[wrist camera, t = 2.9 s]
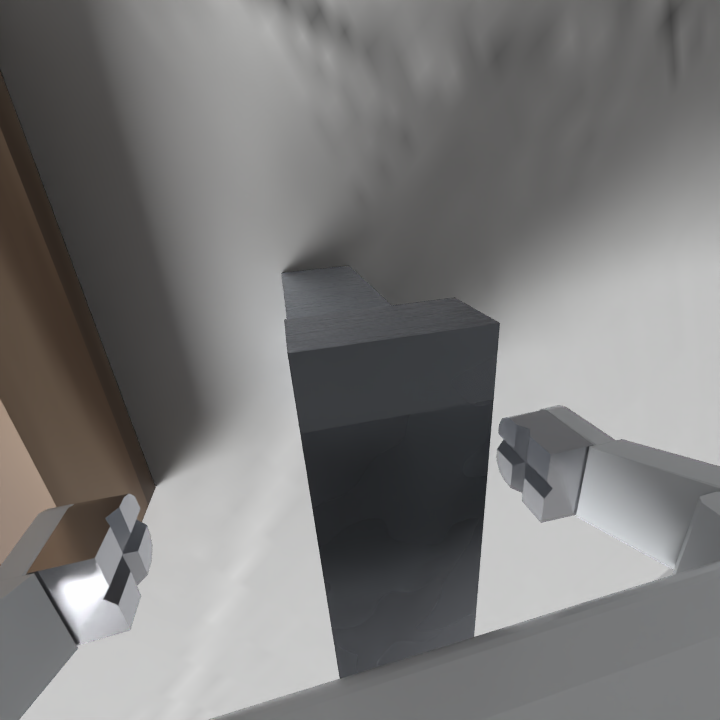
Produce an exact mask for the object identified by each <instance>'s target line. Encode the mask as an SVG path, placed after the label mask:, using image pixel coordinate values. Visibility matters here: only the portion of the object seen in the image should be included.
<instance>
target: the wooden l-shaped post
mask: <svg viewBox="0 0 720 720" xmlns="http://www.w3.org/2000/svg"><path fill="white" fill-rule="evenodd" d="M155 488H156V487H155V485H154V482H153V479H152V477H151V474H150V471H149V469H148V466H147V463H146V461H145V458H144V455H143V453H142V450H141V447H140V444H139V442H138V439H137V436H136V434H135V431H134V428H133V426H132V423H131V420H130V418H129V415H128V412H127V410H126V407H125V404H124V401H123V399H122V396H121V393H120V391H119V388H118V385H117V383H116V380H115V377H114V375H113V372H112V369H111V367H110V364H109V361H108V359H107V356H106V353H105V350H104V348H103V345H102V342H101V340H100V337H99V334H98V332H97V329H96V326H95V324H94V321H93V318H92V316H91V313H90V310H89V307H88V305H87V302H86V299H85V297H84V294H83V291H82V289H81V286H80V283H79V281H78V278H77V275H76V273H75V270H74V267H73V265H72V262H71V259H70V256H69V254H68V251H67V248H66V246H65V243H64V240H63V238H62V235H61V232H60V230H59V227H58V224H57V222H56V219H55V216H54V213H53V211H52V208H51V205H50V203H49V200H48V197H47V195H46V192H45V189H44V187H43V184H42V181H41V179H40V176H39V173H38V171H37V168H36V165H35V162H34V160H33V157H32V154H31V152H30V149H29V146H28V144H27V141H26V138H25V136H24V133H23V130H22V128H21V125H20V122H19V120H18V117H17V114H16V111H15V109H14V106H13V103H12V101H11V98H10V95H9V93H8V90H7V87H6V85H5V82H4V79H3V77H2V74H1V71H0V566H1V565H2V563H3V562H4V560H5V559H6V558H7V556H8V555H9V554H10V552H11V551H12V550H13V548H14V547H15V545H16V544H17V543H18V541H19V540H20V539H21V537H22V536H23V534H24V533H25V532H26V530H27V529H28V528H29V526H30V525H31V523H32V522H33V521H34V519H35V518H36V517H37V515H38V514H39V513H41V512H43V511H44V510H46V509H50V508H55V507H60V506H65V505H70V504H75V503H80V502H86V501H91V500H97V499H102V498H108V497H113V496H119V495H124V494H131V495H133V496H135V498H136V500H137V502H138V504H139V506H140V511H139V514H138V516H137V520H139V521H140V522H142V520H143V518H144V515H145V513H146V510H147V508H148V505H149V503H150V500H151V498H152V495H153V493H154V490H155Z"/></svg>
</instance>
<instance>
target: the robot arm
mask: <svg viewBox="0 0 720 720" xmlns="http://www.w3.org/2000/svg"><path fill="white" fill-rule="evenodd" d="M499 435H500V436H501V437H502V438H503V441H502V443H501V444H500V446H499V447H498V449H497V464H498V467H499V471H500V473H501V475H502V477H503V479H504V480H505V482H506V483H507V484H508V485H509V486H510V488H512V489H515V490H517V491H519V492H521V493H522V502H523V503H524V504H525V505H526V506H527V507H528V508H529V510H530V511H531V512H532V513H533V514H534V515H535V516H536V518H537V519H538V520H539V521H540V522H541V523H542V522H546V521H551V520H555V519H559V518H564V517H568V516H572V515H576V517H577V518H579V519H581V520H583V521H585V522H587V523H588V524H590V525H592V526H594V527H596V528H598V529H599V530H601V531H603V532H605V533H607V534H608V535H610V536H612V537H614V538H616V539H618V540H619V541H621V542H623V543H625V544H627V545H629V546H630V547H632V548H634V549H636V550H638V551H640V552H641V553H643V554H645V555H647V556H649V557H651V558H652V559H654V560H656V561H658V562H660V563H662V564H663V565H665V566H667V567H669V568H671V569H673V570H674V571H673V574H672V575H671V576H668V577H665V578H662V579H658V580H655V581H652V582H649V583H646V584H642V585H639V586H636V587H633V588H629V589H626V590H623V591H620V592H617V593H613V594H610V595H607V596H604V597H601V598H597V599H594V600H591V601H588V602H585V603H581V604H578V605H575V606H572V607H569V608H565V609H562V610H559V611H556V612H553V613H549V614H546V615H543V616H540V617H537V618H533V619H530V620H527V621H524V622H521V623H517V624H514V625H511V626H508V627H505V628H502V629H498V630H495V631H492V632H489V633H486V634H482V635H479V636H476V637H473V638H470V639H466V640H463V641H460V642H457V643H454V644H450V645H447V646H444V647H441V648H438V649H434V650H431V651H428V652H425V653H421V654H418V655H415V656H412V657H409V658H405V659H402V660H399V661H396V662H392V663H389V664H386V665H383V666H380V667H376V668H373V669H370V670H367V671H363V672H360V673H357V674H354V675H350V676H347V677H344V678H341V679H338V680H334V681H331V682H328V683H325V684H321V685H318V686H315V687H312V688H309V689H305V690H302V691H299V692H296V693H292V694H289V695H286V696H283V697H279V698H276V699H273V700H270V701H267V702H263V703H260V704H257V705H254V706H251V707H247V708H244V709H241V710H238V711H234V712H231V713H228V714H225V715H222V716H218V717H215V718H212V719H209V720H720V466H717V465H713V464H709V463H706V462H702V461H699V460H695V459H691V458H688V457H684V456H681V455H677V454H673V453H670V452H666V451H663V450H659V449H655V448H652V447H648V446H645V445H641V444H637V443H634V442H630V441H627V440H623V439H621V440H615V439H613V438H612V437H610V436H609V435H607V434H606V433H604V432H603V431H601V430H600V429H598V428H597V427H595V426H594V425H592V424H591V423H589V422H588V421H586V420H585V419H583V418H582V417H580V416H579V415H577V414H576V413H574V412H573V411H571V410H570V409H568V408H567V407H565V406H560V405H558V406H554V407H549V408H545V409H541V410H540V411H535V412H530V413H525V414H521V415H516V416H511V417H506V418H502V420H501V422H500V424H499ZM139 511H140V506H139V504H138V502H137V500H136V498H135V496H133V495H131V494H124V495H119V496H113V497H108V498H102V499H97V500H91V501H86V502H80V503H75V504H70V505H65V506H60V507H55V508H50V509H46V510H44V511H43V512H41V513H39V514H38V515H37V517H36V518H35V519H34V521H33V522H32V523H31V525H30V526H29V528H28V529H27V530H26V532H25V533H24V534H23V536H22V537H21V539H20V540H19V541H18V543H17V544H16V545H15V547H14V548H13V550H12V551H11V552H10V554H9V555H8V556H7V558H6V559H5V560H4V562H3V563H2V565H1V566H0V720H19V719H20V718H21V717H22V716H23V714H24V713H25V712H26V711H27V709H28V708H29V707H30V706H31V705H32V703H33V702H34V701H35V700H36V699H37V697H38V696H39V695H40V694H41V693H42V691H43V690H44V689H45V688H46V686H47V685H48V684H49V683H50V682H51V680H52V679H53V678H54V677H55V676H56V674H57V673H58V672H59V671H60V670H61V668H62V667H63V666H64V665H65V663H66V662H67V661H68V660H69V659H70V657H71V656H72V655H73V654H74V653H75V651H76V650H77V649H78V647H77V646H78V645H81V644H85V643H88V642H91V641H95V640H98V639H102V638H105V637H109V636H112V635H116V634H119V633H122V632H126V631H129V630H130V629H131V626H132V623H133V620H134V617H135V614H136V610H137V607H138V604H139V601H140V598H141V594H140V592H139V589H138V587H137V585H138V584H139V583H140V582H141V581H142V580H143V579H144V578H145V577H146V576H147V575H148V572H149V568H150V565H151V561H152V540H151V534H150V532H149V529H148V526H147V525H146V524H144V523H142V522H140V521H139V520H137V516H138V514H139Z"/></svg>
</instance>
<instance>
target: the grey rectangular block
mask: <svg viewBox="0 0 720 720" xmlns="http://www.w3.org/2000/svg"><path fill="white" fill-rule="evenodd" d="M282 282H283V290H284V299H285V307H286V316H287V319H285V320H284V322H285V332H286V343H287V353H288V359H289V366H290V372H291V378H292V384H293V390H294V397H295V403H296V409H297V415H298V421H299V428H300V434H301V440H302V446H303V453H304V459H305V465H306V471H307V477H308V484H309V490H310V496H311V502H312V509H313V515H314V521H315V527H316V533H317V540H318V546H319V552H320V558H321V565H322V571H323V577H324V583H325V589H326V596H327V602H328V608H329V614H330V621H331V627H332V633H333V639H334V645H335V652H336V658H337V664H338V670H339V676H340V679H341V678H344V677H347V676H350V675H354V674H357V673H360V672H363V671H367V670H370V669H373V668H376V667H380V666H383V665H386V664H389V663H392V662H396V661H399V660H402V659H405V658H409V657H412V656H415V655H418V654H421V653H425V652H428V651H431V650H434V649H438V648H441V647H444V646H447V645H450V644H454V643H457V642H460V641H463V640H466V639H470V638H473V637H474V630H475V618H476V605H477V593H478V581H479V569H480V557H481V545H482V533H483V520H484V508H485V496H486V484H487V472H488V460H489V448H490V436H491V423H492V411H493V399H494V387H495V375H496V363H497V351H498V338H499V326H500V323H499V322H497V321H495V320H494V319H492V318H490V317H488V316H487V315H485V314H483V313H481V312H480V311H478V310H476V309H474V308H472V307H471V306H469V305H467V304H465V303H464V302H462V301H460V300H458V299H456V298H447V299H439V300H432V301H424V302H416V303H408V304H401V305H393V306H392V305H391V304H390V303H389V302H388V301H387V300H386V299H385V298H383V297H382V296H381V295H380V294H379V293H378V292H377V291H376V290H375V289H374V288H373V287H372V286H370V285H369V284H368V283H367V282H366V281H365V280H364V279H363V278H362V277H361V276H360V275H359V274H357V273H356V272H355V271H354V270H353V269H352V268H351V267H350V266H341V267H332V268H323V269H314V270H305V271H296V272H286V273H282Z"/></svg>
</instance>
